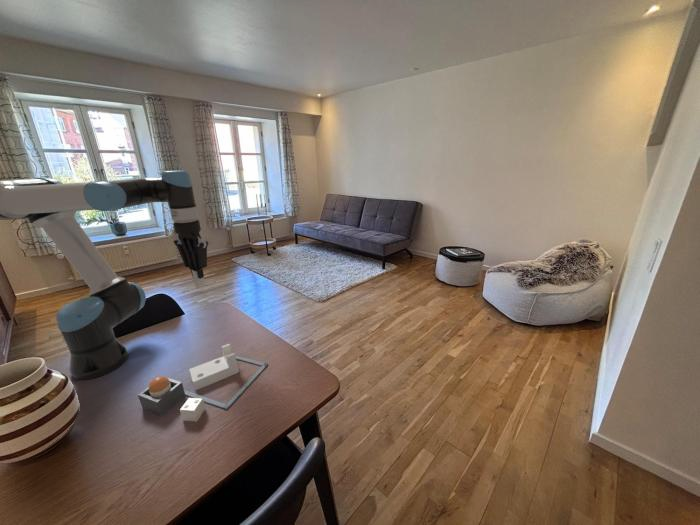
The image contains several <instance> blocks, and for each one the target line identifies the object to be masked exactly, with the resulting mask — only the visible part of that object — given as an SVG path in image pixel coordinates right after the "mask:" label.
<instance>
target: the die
mask: <svg viewBox="0 0 700 525" xmlns="http://www.w3.org/2000/svg"><path fill="white" fill-rule="evenodd" d="M205 411H206V407H205V402H203V399H201V398H191V397H188V398H187V400H186V401H185V403H184V404H183V405H182V406H181V408H180V409H179V413H180V416H181V418H182V421H183V422H198V421H199V419H200V418H201V416H202V415H203V413H204V412H205Z"/></svg>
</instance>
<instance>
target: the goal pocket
mask: <svg viewBox="0 0 700 525" xmlns="http://www.w3.org/2000/svg"><path fill="white" fill-rule="evenodd" d="M235 356H236V361H237V360H238V361H241V362H245V363H249V364H253V365H257V366H259V369H257V371H255V373H254V374H253V375H252V376H251V378H249V379H248V380H247V381H246V382H245V384H243V386H241V388H240V389H239V390H238V391H237V392H236V394H234V396H232V398H230V399H229V401H228V402H227V403H224V402H221V401H218V400H216V399H212V398H209V397H206V396H204V395H200V394H197V393H194V392H191V391H188V390H186V389H184V392H185V397H188V398H201V399H203V402H204V403H206V404H209V405H212V406H215V407H218V408H220V409H223V410H227V411H228V409H229V408H230V407H231V406H232V405H233V404H234V403H235V402H236V400H237V399H238V398H239V397H240V396H241V395H242V394H243V393H244V392H245V390H246V389H247V388H248V387H249V386H250V385H251V384H252V383H253V382H254V381H255V380H256V379H257V377H259V375H260V374H261V373H262V372H263V371H264V370H265V369H266V368H267V367H268V363H265V362H263V361H262V362H261V361H258V360H254V359H252V358H251V359H250V358H246V357H242V356H239V355H236V354H235Z"/></svg>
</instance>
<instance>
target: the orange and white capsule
mask: <svg viewBox="0 0 700 525" xmlns="http://www.w3.org/2000/svg"><path fill="white" fill-rule="evenodd" d="M168 378H169V377H167V378H166V376H164V375H163V376H162V375H160V376H157V377H154V378H153V379H152V380H151V381H150V383H149V385H148V387H149V392H150V395H151V397H153V398H156V399H159V398H160V397H161V396H163V395H164V394H165V393H166V392H168V391H169V390H170V389H171V385H170V381H169V379H168Z"/></svg>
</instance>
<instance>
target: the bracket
mask: <svg viewBox="0 0 700 525" xmlns="http://www.w3.org/2000/svg"><path fill="white" fill-rule="evenodd" d="M221 350H222V356H221V357H217V358H215V359H212V360H210V361H207V362H204V363H202V364H199V365H196V366H194V367H191V368H189V373H190V377H191V380H192V384H193V388H194V391H197V390H200V389H202V388H205V387H207V386H209V385H212V384H214V383H216V382H217V383H218V382H219V381H221V380H224V379H227V378H229V377H230V376H233V375H236V374H238V373H239V368H238V362H237V359H236V356H237V355H236V353H235V352H233V351H232V347H231V344H230V343H227V344H224V345H222V346H221ZM235 355H236V356H235Z"/></svg>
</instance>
